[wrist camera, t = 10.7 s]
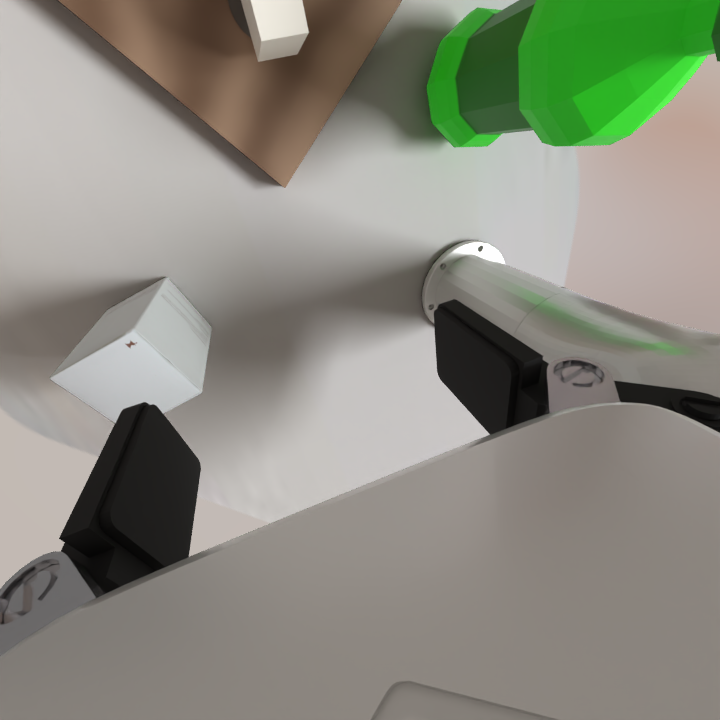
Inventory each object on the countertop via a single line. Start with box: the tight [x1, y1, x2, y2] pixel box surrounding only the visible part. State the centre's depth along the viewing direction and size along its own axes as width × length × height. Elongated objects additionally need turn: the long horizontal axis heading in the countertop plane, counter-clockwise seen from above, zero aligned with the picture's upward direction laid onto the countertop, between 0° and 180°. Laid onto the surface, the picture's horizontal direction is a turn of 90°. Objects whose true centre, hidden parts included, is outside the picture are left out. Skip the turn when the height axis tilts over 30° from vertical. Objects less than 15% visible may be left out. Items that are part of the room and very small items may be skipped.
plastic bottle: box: [426, 0, 720, 147], centre depth 22 cm, size 10×10×25 cm
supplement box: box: [50, 277, 212, 423], centre depth 30 cm, size 7×7×13 cm
